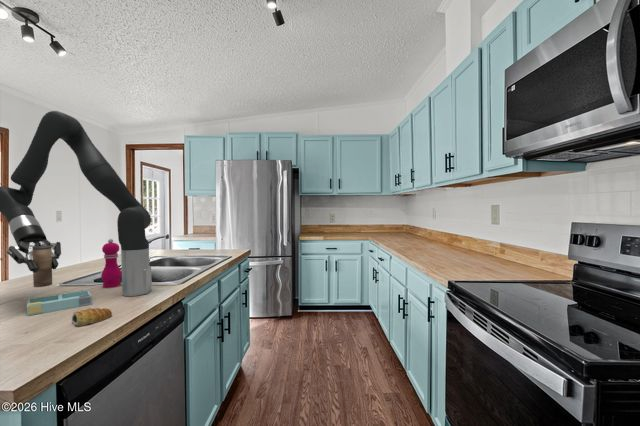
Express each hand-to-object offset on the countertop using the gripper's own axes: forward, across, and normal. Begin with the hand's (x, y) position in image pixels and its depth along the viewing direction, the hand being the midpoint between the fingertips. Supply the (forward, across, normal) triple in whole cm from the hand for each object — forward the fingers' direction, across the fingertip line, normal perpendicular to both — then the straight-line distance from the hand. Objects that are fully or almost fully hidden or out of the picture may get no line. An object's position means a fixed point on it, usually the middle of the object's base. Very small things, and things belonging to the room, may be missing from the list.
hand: (45, 269), depth 99 cm
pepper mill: (+2, +26, +17) cm, 32 cm away
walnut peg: (+3, 0, +5) cm, 6 cm away
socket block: (+10, +4, +9) cm, 14 cm away
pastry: (+27, 0, -8) cm, 28 cm away
